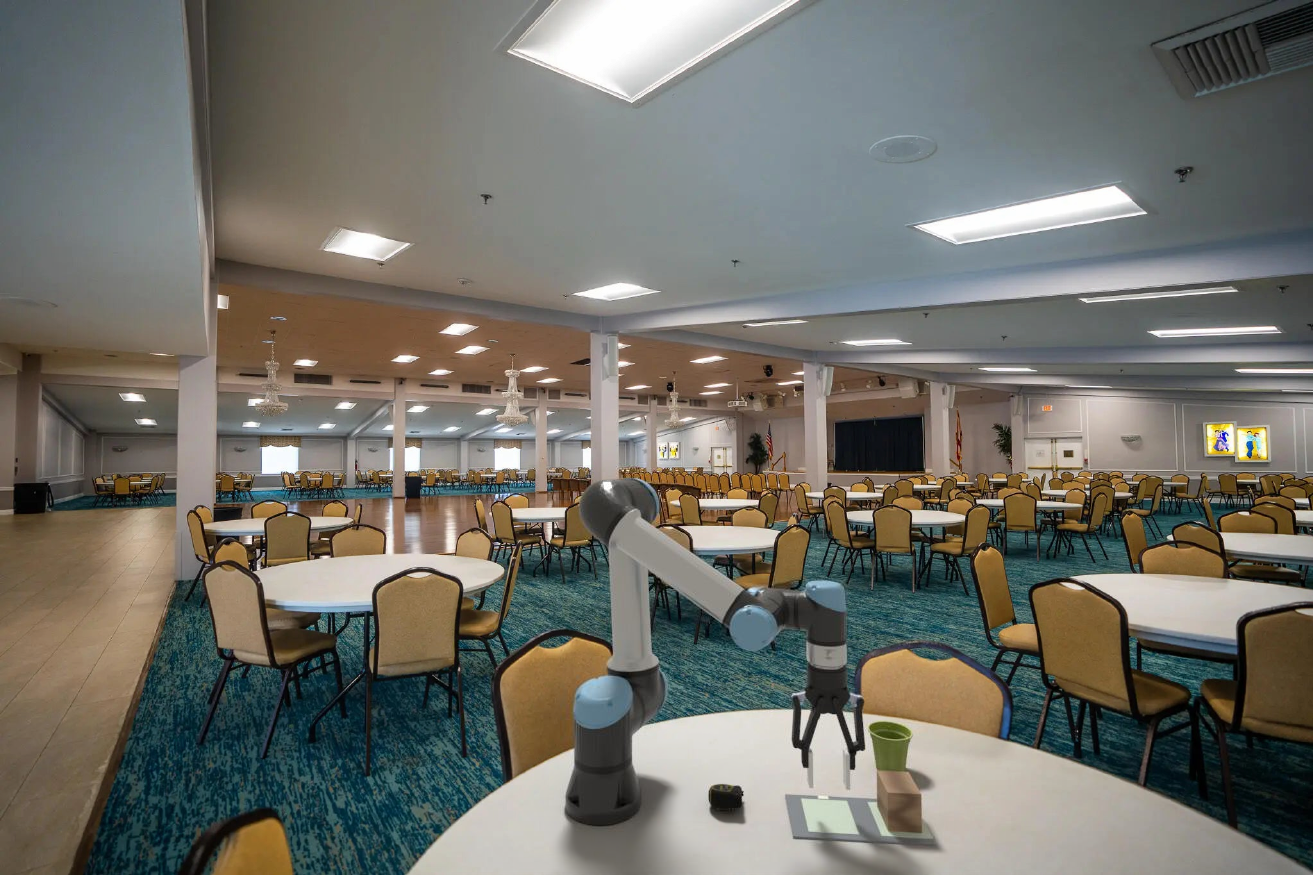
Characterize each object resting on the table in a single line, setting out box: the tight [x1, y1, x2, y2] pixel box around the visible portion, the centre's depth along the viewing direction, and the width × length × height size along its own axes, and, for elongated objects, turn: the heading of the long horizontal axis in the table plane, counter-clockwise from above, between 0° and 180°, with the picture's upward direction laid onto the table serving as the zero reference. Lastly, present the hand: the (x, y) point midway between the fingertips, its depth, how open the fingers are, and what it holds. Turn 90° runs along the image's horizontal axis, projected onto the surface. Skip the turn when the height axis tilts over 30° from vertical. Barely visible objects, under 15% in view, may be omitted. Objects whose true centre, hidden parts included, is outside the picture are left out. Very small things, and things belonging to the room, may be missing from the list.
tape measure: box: [708, 783, 744, 811], centre depth 123 cm, size 7×7×4 cm
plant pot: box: [867, 720, 914, 772], centre depth 138 cm, size 9×9×9 cm
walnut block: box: [876, 769, 923, 833], centre depth 117 cm, size 6×8×7 cm
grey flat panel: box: [784, 793, 937, 847], centre depth 118 cm, size 25×14×1 cm, turn 84°
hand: (828, 784), depth 119 cm, fingers open, 6 cm apart
